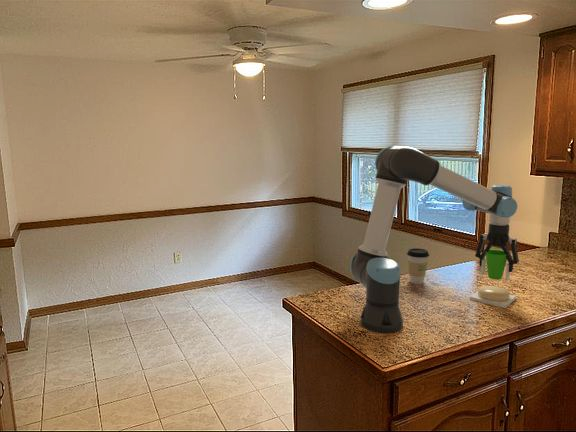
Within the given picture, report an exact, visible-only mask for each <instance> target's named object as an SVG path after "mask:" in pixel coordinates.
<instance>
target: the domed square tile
mask: <svg viewBox="0 0 576 432" xmlns="http://www.w3.org/2000/svg"><path fill="white" fill-rule="evenodd" d="M469 300H471V301H475V302H479V303H483V304H486V305H491V306H496V307H500V308H503V309H506V308H507V307H508V306H510V304H512V303H513V302H514V301H515V300H517V295H514V294H510V291H509V290H508V289H506V288H503V287H500V286H496V285H495V286H494V285H482V286H479V287H478V288H477V291H476V292H474V293H473V294H471V295H470V296H469Z"/></svg>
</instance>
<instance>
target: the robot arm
mask: <svg viewBox="0 0 576 432" xmlns="http://www.w3.org/2000/svg"><path fill="white" fill-rule="evenodd" d="M374 161H375V163H374V165H375V166H374V167H375V168H376V170H377V171H376V175H375V180H376V182H377V189H376V191H375V196H374V198H373V199H374V200H373V204H372V207H371V211H370V215H369V220H368V225H367V227H366V232H365V236H364V240H363V243H362V244H361V245H359V246H358V248H357V251H356V253H355V254H353V256H352V257H351V260H350V263H349V268H350V269H349V270H350V272H351V275H352V276H353V278H354V279H355V280H356V281H357V282H359V283H360V284H361V285H362V286H364V287H365V289H366V291H365V304H364V306H363V310H362V312H361V314H360V325H361V327H363V328H364V329H366V330H369V331H371V332H375V333H381V334H382V333H384V334H387V333H395V332H398V331H400V330H402V329H403V327H404V318H403V315H402V312H401V308H400V289H401V288H400V286H401V285H400V284H401V277H402V275H401V266H400V265H399V263H398V262H397V261H395V260H393V259H389V258H388V257H389V254H388V252H387V249H386V248H387V244H388V241H389V236H390V232H391V229H392V225H393V222H394V221H393V220H394V217H395V213H396V209H397V205H398V201H399V197H400V193H401V190H402V188H404V187H406V186H407V182H408V181H409V182H410V181H411V182H414V183H419V184H421V185H424V186H429V185H430V186H432V187H435V188H437V189H438V190H441V191H443V192H445V193H447V194H449V195H452V196H453V197H456V198H458V199H461V200H462V201H461V203H462V207H463V208H464V210H465V211H472V212H474V211H478V212H483V213H486V214H489V216H488V217H489V220H488V221H489V223H488V231H487V232H488V234H485V233H482V234H480V235H479V241H478V242H479V243H478V245H477V249H476V252H475V257H476V258H478V259H479V264H478V265H479V267H480V276H483V275H485V274H486V267H487V259H486V252H488V251H489V250H490V249H492V247H500V248H501V250H503V251H504V253H505V255H506V258H507V262H508V263H506V266H505V281H508V280H510V277H511V273H513V271H514V265H517V264H519V261H520V259H519V254H518V248H517V242H518V239H517V238H511V237H510V225H509V224H510V223H511V217H513V216H514V215H515V214H516V212H517V211H518V202H517V200H516V199H514V198H513V187H512V186H510V185H506V184H494V185H492V186H491V189H490V188H488V187H486V186H484V185H482V184H480V183H478V182H476V181H475V180H472V179H470V178H468V177H465V176H464V175H461V174H459V173H457V172H455V171H453V170H451V169H449V168H446V167H445V166H443V165H441V162H440V161H439V160H437V159H436V158H433V157H432V156H430V155H428V154H426V153H424V152H422V151H420V150H418V149H416V148H414V147H412V146H411V147H410V146H400V145H389V146H387V147H384V148H382V149H381V150H380V151H379V152H378V153H377V155H376V157H375V160H374ZM486 240H488V244H487V245H486V247H485V248H484V250H483V247H484V245H485V241H486ZM508 242H509V244H510V247H511V252H510V249H509V247H508ZM482 250H483V252H482ZM485 251H486V252H485Z"/></svg>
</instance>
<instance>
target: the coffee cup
mask: <svg viewBox="0 0 576 432" xmlns="http://www.w3.org/2000/svg"><path fill="white" fill-rule="evenodd" d="M406 253H407V254H406V255H407V257H408V258H407V262H408V263H407V265H408V275H409V282H410V283H411V284H415V285H417V284H418V285H420V284H424V282H425V276H426V272H427V266H428V258H429V257H430V254H429V251H428V250H427V249H424V248H409V249H408V251H407V252H406Z"/></svg>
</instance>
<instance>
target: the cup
mask: <svg viewBox="0 0 576 432" xmlns="http://www.w3.org/2000/svg"><path fill="white" fill-rule="evenodd" d="M485 252H486V251H485ZM485 259H486V267H487V276H488V278H489V279H491V280H499V281H500V280H502V279H503V275H504V272H505V269H506V266H507V262H508V260H507V258H506V255H505V253H504V251H503V249H496V248H495V249H492V248H490V250H489V251H488V252H486V256H485Z"/></svg>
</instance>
